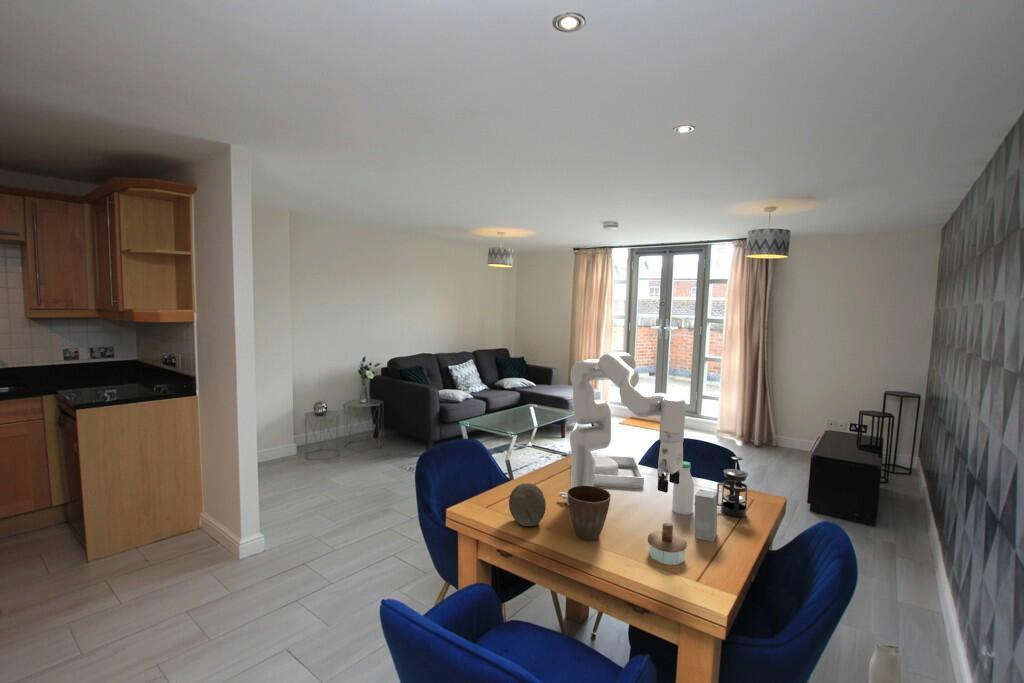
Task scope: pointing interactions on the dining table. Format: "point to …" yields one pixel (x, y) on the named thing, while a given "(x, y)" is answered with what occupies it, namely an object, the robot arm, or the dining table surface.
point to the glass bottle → (884, 665)
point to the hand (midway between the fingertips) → (668, 487)
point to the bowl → (667, 556)
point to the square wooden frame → (621, 480)
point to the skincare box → (706, 515)
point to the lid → (667, 540)
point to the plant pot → (588, 510)
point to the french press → (733, 493)
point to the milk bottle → (683, 491)
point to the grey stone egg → (527, 504)
